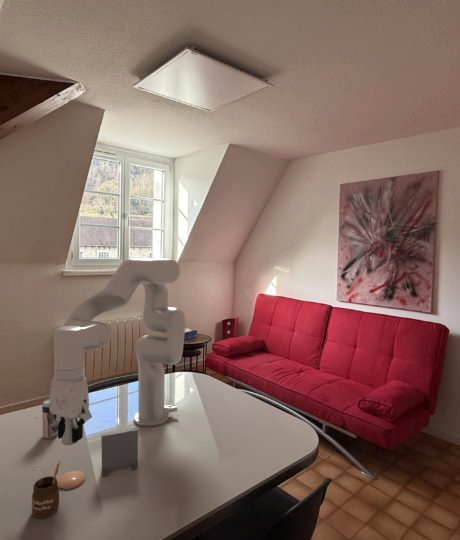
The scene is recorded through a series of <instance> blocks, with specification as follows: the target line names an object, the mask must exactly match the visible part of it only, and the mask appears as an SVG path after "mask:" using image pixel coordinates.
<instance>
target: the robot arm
mask: <svg viewBox="0 0 460 540" xmlns="http://www.w3.org/2000/svg"><path fill="white" fill-rule="evenodd" d="M180 274H181V268H180V264H179V263H178V262H177V261H176V260H174V259H172V258H152V257H150V258H149V257H146V258H144V257H143V258H140V257H139V258H135V257H134V258H131V257H130V258H127V259H124V260H123V261H122V262H121V263H120V265H119V266H118V268H117V269H116V270H115V271H114V273H113V275H112V276H111V277H110V279H109V281H108V282H107V284H105V286H104V287H103V289H102V290H99V291H98V292H95V293H94V294H93V295H91V296H90V297H88V298H87V299H85V300H84V301H82V302H81V303H79V305H77V306H76V307H75V308H74V309H73V311H72V312H71V313H70V314H69V316H68V318H66V321H65V322H64V324H63V326H61V327H58V328H57V329H55V330H54V334H53V354H54V355H53V356H54V357H53V359H54V360H53V361H54V362H53V364H54V367H53V371H54V373H53V374H54V375H53V376H52V379H51V382H50V383H51V384H50V392H49V399H50V401H49V409H50V412H51V413H52V414H53V415H54V417H55V418H56V423H57V424H58V434H57V438H58V439H62V436H63V435H64V432H65V419H64V417H66V418H69V419H72V420H73V425H74V428H72V442H73V443H75V442H77V441H78V442H79V440H81V439H83V437H84V432H83V431H84V430H83V429H84V428H83V426H84V425H85V423H86V422H87V421H88V420H91V419H92V417H93V415H92V413H91V411H90V409H89V408H90V394H89V388H88V382H87V377H86V368H85V367H86V364H85V363H86V358H85V356H86V355H85V353H86V352H87V351H92V350H98V349H101V348H104V347H106V346H107V345H108V344H109V343H110V341H111V339H112V335H113V333H112V332H113V331H112V329H111V327H110V325H108V324H106V323H104V322H100V321H93V320H94V319H95V318H96V317H99V316H100V315H102V314H104V313H108V312H111V311H114V310H117V309H121V308H123V307H124V306H126V305H127V304H128V303H129V301H130V299H131V297H132V296H133V295H134V293H135V291H136V290H137V288H138V286H139V285H142V286H143V290H144V304H143V305H144V306H143V315H142V326H143V328H144V329H146V330H147V331H148V332H149V331H150V332H153V333H154V332H156V333H163V334H166V336H162V335H157V334H156V335H154V334H145V335H142V336H141V337H139V338H138V340H137V341H136V344H135V356H136V359H137V366H138V367H137V368H138V370H137V371H138V375H137V377H138V379H137V380H138V398H137V399H138V401H137V402H138V410H137V412H136V413H135V415H134V416H133V421H134V423H135V424H136V425H139V426H140V427H141V426H142V427H156V426H160V425H163V424H164V423H166V422H167V421H169V413H176V412H178V406H173V404H168V405H167V404H165V395H166V394H165V392H166V391H165V390H166V389H165V381H166V380H165V378H166V377H165V375H166V374H165V368H164V365H165V364H166V365H173V366H174V365H176V364H178V363H179V362H181V359H182V356H183V352H184V341H185V333H186V317H185V313H184V312H183V310H182V309H181V308H178V307H173V306H172V307H171V306H169V291H168V288H167V286H166V285H168V284H174V283H175V282H176V281H177V280H178V279H179V277H180ZM163 364H164V365H163ZM78 418H79V420H78ZM78 442H77V443H78ZM75 444H76V443H75Z"/></svg>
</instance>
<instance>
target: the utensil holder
mask: <svg viewBox="0 0 460 540" xmlns="http://www.w3.org/2000/svg"><path fill="white" fill-rule="evenodd" d="M60 462H61V461H58V463H57V464H56V466H55V470H54V473H53V476H52V475H51V476H50V475H49V476H44V475H45V474H44V470H42V472H41V470H39V475H41V473H42V475H43V477H42V476H39V477H40V478H39V477H38V475H37V473H38V472H37V466H35V467H33V470H35V473H34V474H32V477H33V481H34V484H33V488H32V489H33V490H32V491H33V492H32V495H31V511H32V515H33V516H34V517H36V518H38V519H43V518H47V517H50V516H51V515H53V514H54V513H56V512H57V510H58V509H59V506H60V489H59V487H58V485H57V480H58V478H56V477H57V475H58V472H59V467H60V464H61V463H60ZM38 469H41V466H38ZM35 476H36V477H35ZM35 478H36V479H35Z"/></svg>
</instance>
